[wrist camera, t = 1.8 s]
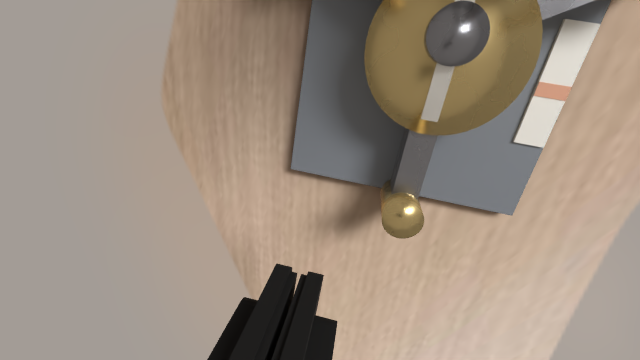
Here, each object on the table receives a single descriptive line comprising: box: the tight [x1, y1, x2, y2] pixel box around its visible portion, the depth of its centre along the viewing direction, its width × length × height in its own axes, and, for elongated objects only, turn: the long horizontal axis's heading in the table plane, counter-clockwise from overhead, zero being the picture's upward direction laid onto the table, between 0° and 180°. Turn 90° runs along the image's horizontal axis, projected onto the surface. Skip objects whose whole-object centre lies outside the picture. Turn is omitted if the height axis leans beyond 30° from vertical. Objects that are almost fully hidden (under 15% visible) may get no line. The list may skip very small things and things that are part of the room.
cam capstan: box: [364, 0, 594, 238], centre depth 17 cm, size 17×20×4 cm
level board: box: [291, 0, 611, 215], centre depth 18 cm, size 20×16×1 cm
